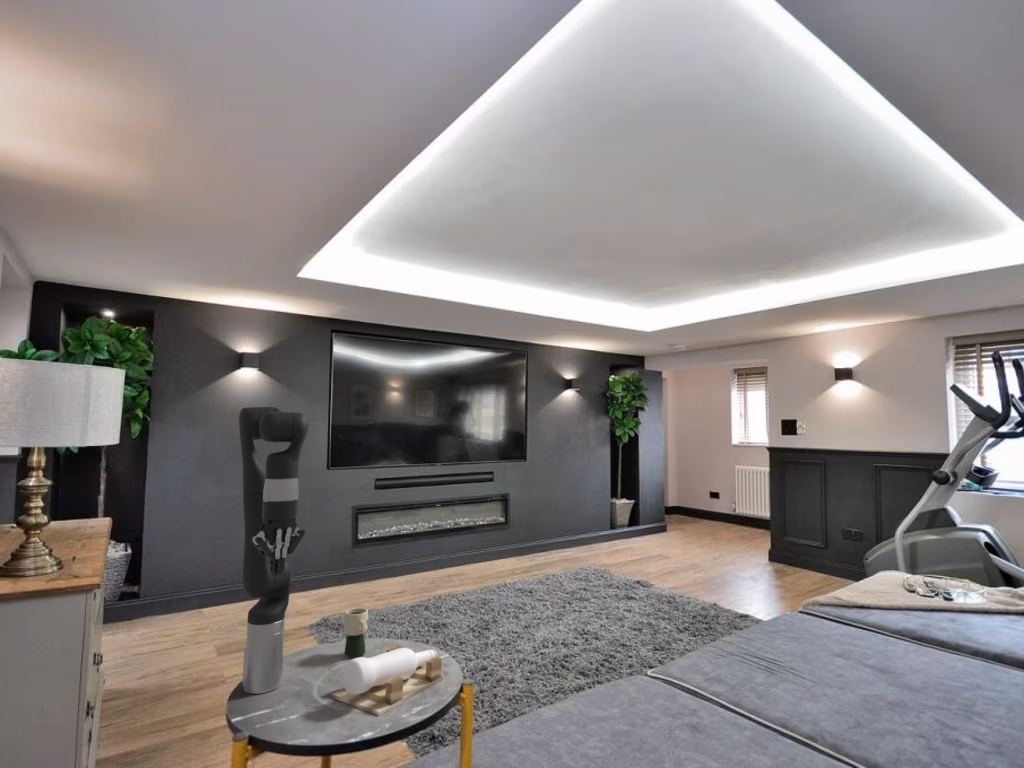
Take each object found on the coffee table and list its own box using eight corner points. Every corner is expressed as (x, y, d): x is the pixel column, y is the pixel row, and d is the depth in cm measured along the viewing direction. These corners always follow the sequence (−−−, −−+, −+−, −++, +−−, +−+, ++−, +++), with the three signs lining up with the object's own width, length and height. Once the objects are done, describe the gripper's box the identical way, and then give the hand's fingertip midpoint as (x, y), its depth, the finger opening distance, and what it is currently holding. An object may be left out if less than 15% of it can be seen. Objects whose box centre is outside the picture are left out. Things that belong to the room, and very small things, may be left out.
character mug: (373, 657, 162) (374, 613, 164) (350, 663, 158) (352, 617, 159) (358, 646, 171) (360, 604, 172) (336, 652, 166) (338, 608, 168)
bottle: (366, 673, 130) (448, 651, 154) (348, 652, 135) (430, 634, 159) (353, 703, 130) (437, 676, 154) (336, 681, 135) (420, 659, 159)
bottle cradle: (331, 697, 137) (332, 673, 138) (398, 664, 157) (399, 644, 158) (378, 715, 128) (379, 690, 129) (443, 678, 148) (443, 656, 149)
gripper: (295, 494, 132) (292, 567, 130) (244, 499, 121) (239, 578, 119) (315, 496, 128) (312, 571, 126) (264, 501, 117) (259, 583, 115)
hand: (276, 574), depth 122 cm, fingers closed
